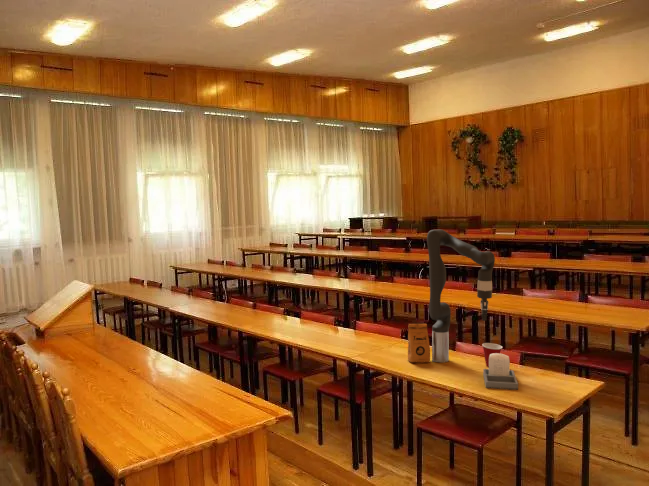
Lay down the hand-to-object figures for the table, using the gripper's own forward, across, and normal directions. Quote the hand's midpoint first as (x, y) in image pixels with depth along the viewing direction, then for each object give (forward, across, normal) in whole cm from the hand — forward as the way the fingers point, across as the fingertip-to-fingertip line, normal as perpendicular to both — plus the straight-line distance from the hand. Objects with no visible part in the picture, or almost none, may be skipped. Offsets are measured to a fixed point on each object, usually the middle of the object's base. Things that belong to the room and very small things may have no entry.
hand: (483, 318), depth 293 cm
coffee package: (+29, -10, -35) cm, 46 cm away
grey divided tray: (+28, +18, +8) cm, 34 cm away
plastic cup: (+28, -7, +5) cm, 30 cm away
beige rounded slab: (+27, +13, +7) cm, 31 cm away
